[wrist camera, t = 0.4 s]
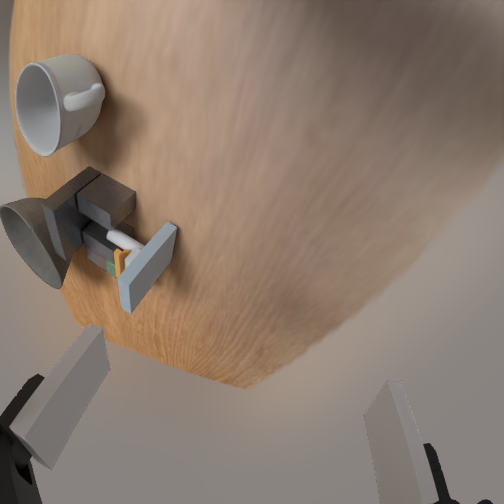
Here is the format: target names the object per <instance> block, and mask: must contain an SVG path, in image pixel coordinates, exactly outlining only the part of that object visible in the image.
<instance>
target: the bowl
mask: <svg viewBox="0 0 504 504" xmlns="http://www.w3.org/2000/svg"><path fill="white" fill-rule="evenodd" d="M45 200H46V199H43V198H25V199H21V200H18V201H15V202H11V203H8V204H5V205H2V206H0V218H1V221H2V224H3V226H4V228H5V231H6V233H7V235H8V238H9V239H10V241H11V243H12V244H13V246H14V248H15V249H16V250H17V252H18V253H19V255H20V256H21V257H22V259H23V260H24V261H25V262H26V263H27V264H28V266H29V267H30V268H31V269H32V270H33V271H34V273H35V274H36V275H38V276H39V277H40V278H41V279H42V280H43V281H44V282H46V283H47V284H49V285H50V286H52V287H54V288H56V289H60V288H61V287H62V285H63V282H64V279H65V276H66V273H67V270H68V267H69V264H70V261H71V257H72V256H71V257H70V258H69V259H68V260H67V261H66V260H64V259H63V258H62V257H61V256H59V255H58V254H57V253H56V252H55V249H54V246H53V243H52V240H51V236H50V233H49V229H48V226H47V222H46V219H45V215H44V211H43V207H42V202H44V201H45Z"/></svg>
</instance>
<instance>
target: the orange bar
mask: <svg viewBox="0 0 504 504" xmlns="http://www.w3.org/2000/svg"><path fill="white" fill-rule="evenodd" d="M130 252H131V251H129V250H127V249H125V250H124V251H123V252H122V251H121V250H119V249H118V248H117V249H116V250H115V251H114V261H115V270H116V277H119V276H120V275H121V273H122V272H123V271H124V270H125V258H126V257H127V256H128V255H129V253H130Z"/></svg>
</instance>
